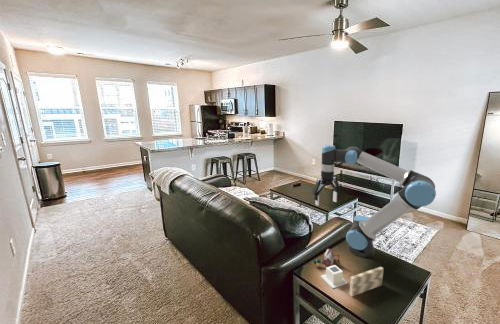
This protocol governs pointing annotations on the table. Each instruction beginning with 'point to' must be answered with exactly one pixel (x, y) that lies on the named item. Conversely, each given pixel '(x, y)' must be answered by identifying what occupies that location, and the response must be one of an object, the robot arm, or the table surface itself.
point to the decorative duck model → (327, 258)
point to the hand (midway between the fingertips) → (326, 203)
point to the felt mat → (334, 284)
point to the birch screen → (366, 281)
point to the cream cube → (334, 274)
